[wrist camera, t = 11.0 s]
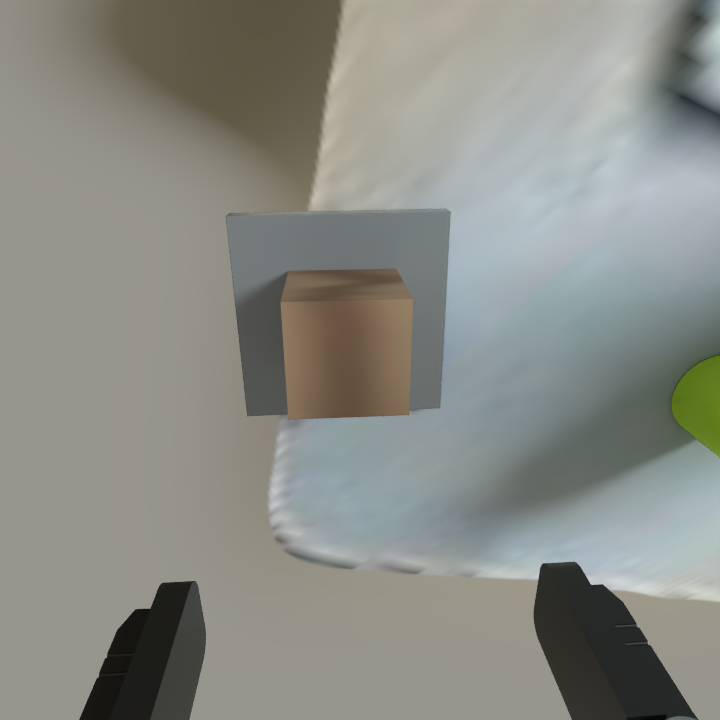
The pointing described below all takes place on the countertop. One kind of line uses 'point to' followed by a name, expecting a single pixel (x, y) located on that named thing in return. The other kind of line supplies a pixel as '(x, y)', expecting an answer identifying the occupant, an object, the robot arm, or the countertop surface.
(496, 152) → the countertop surface
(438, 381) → the slate tile
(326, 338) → the walnut cube
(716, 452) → the soap dispenser
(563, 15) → the countertop surface
